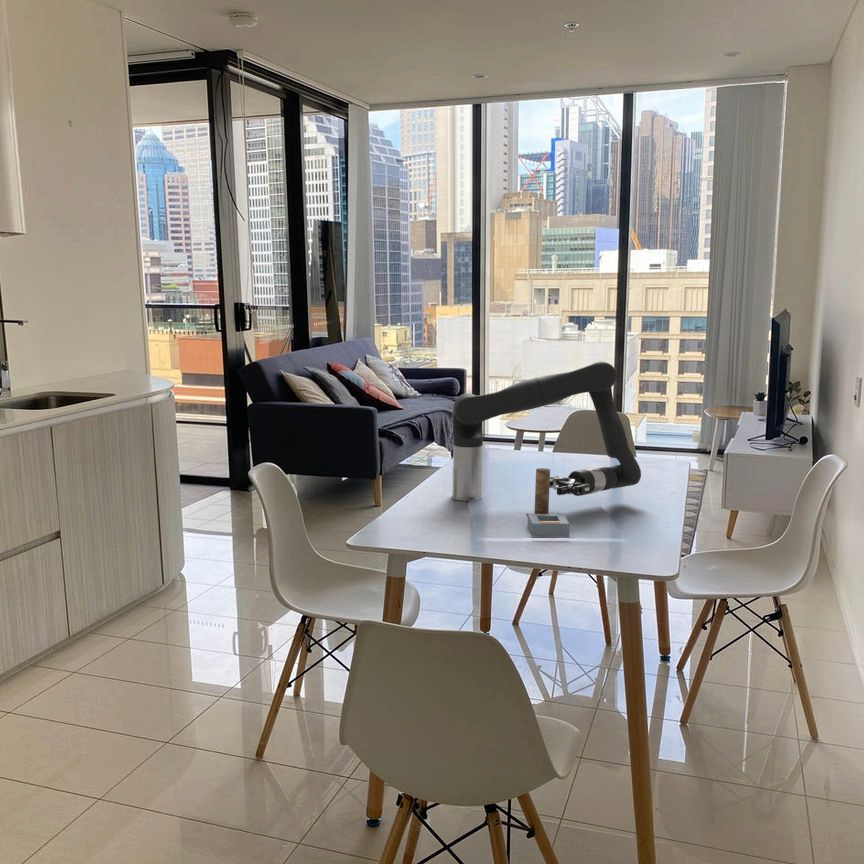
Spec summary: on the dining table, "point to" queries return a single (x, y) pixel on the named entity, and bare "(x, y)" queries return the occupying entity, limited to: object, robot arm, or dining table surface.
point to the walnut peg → (542, 491)
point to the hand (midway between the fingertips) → (547, 488)
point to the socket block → (548, 524)
